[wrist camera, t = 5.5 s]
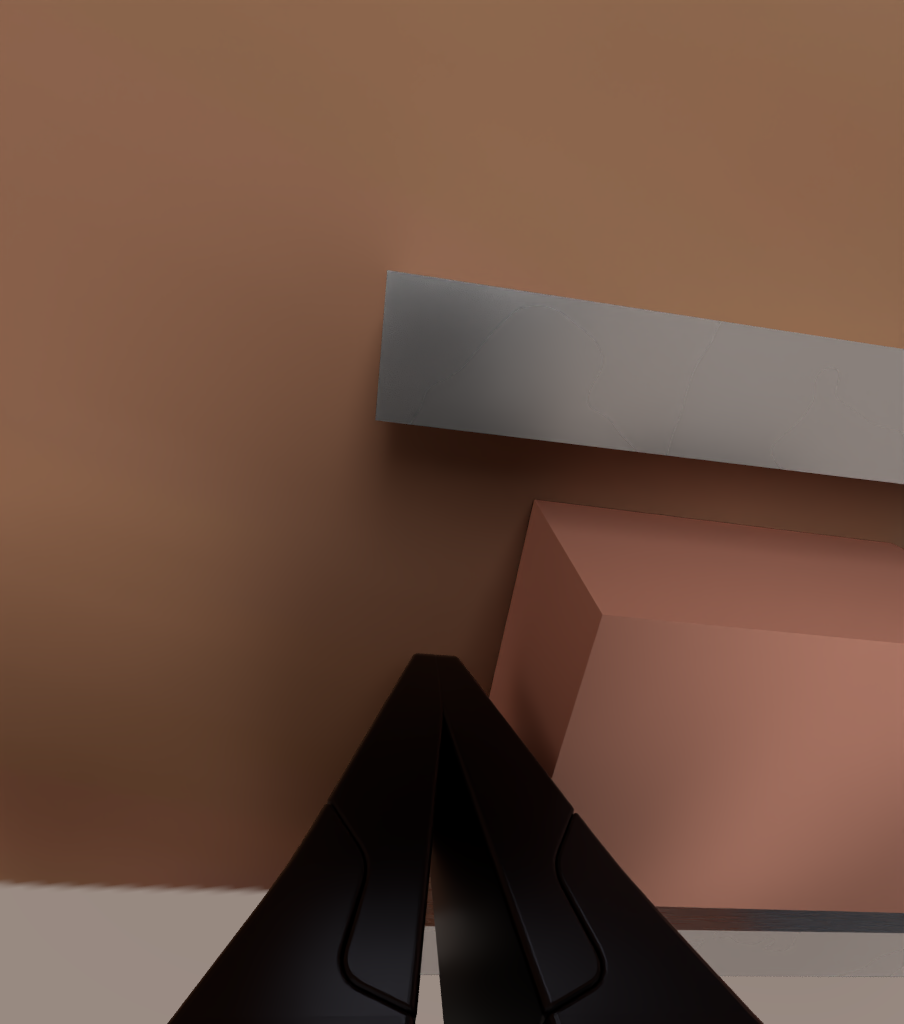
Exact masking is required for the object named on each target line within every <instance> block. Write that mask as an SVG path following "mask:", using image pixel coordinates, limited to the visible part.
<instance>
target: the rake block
mask: <svg viewBox="0 0 904 1024" xmlns="http://www.w3.org/2000/svg"><path fill="white" fill-rule="evenodd" d="M489 699H490V700H491V701H492V702H493V704H494V705H495V706H496V708H497V709H498V710H499V712H500V713H501V714H502V715H503V717H504V718H505V719H506V721H507V722H508V723H509V725H510V726H511V727H512V728H513V730H514V731H515V732H516V734H517V735H518V736H519V738H520V739H521V740H522V741H523V743H524V744H525V745H526V747H527V748H528V749H529V751H530V752H531V753H532V754H533V756H534V757H535V758H536V760H537V761H538V762H539V764H540V765H541V766H542V767H543V769H544V770H545V771H546V773H547V774H548V775H549V777H550V778H551V779H552V780H553V782H554V783H555V784H556V786H557V787H558V788H559V790H560V791H561V792H562V793H563V795H564V796H565V797H566V799H567V800H568V801H569V803H570V804H571V805H572V806H573V808H574V813H578V814H579V815H580V817H581V818H582V819H583V820H584V822H585V823H586V824H587V826H588V827H589V828H590V829H591V831H592V832H593V833H594V835H595V836H596V837H597V838H598V840H599V841H600V842H601V843H602V845H603V846H604V847H605V848H606V850H607V851H608V852H609V853H610V854H611V856H612V857H613V858H614V859H615V861H616V862H617V863H618V864H619V866H620V867H621V868H622V869H623V871H624V872H625V873H626V874H627V875H628V876H629V877H630V878H631V880H632V881H633V882H634V883H635V884H636V885H637V886H638V887H639V889H640V890H641V891H642V892H643V893H644V894H645V895H646V897H647V898H648V899H649V900H650V901H651V902H652V903H653V904H654V906H658V907H696V908H734V909H772V910H809V911H847V912H885V913H904V549H902V548H900V547H898V546H896V545H895V544H893V543H886V542H878V541H870V540H861V539H853V538H845V537H837V536H829V535H821V534H812V533H804V532H796V531H788V530H780V529H772V528H763V527H755V526H747V525H739V524H731V523H723V522H714V521H706V520H698V519H690V518H682V517H674V516H665V515H657V514H649V513H641V512H633V511H625V510H616V509H608V508H600V507H592V506H584V505H576V504H567V503H559V502H551V501H543V500H535V499H534V503H533V507H532V512H531V516H530V520H529V525H528V529H527V533H526V538H525V542H524V547H523V551H522V555H521V560H520V564H519V568H518V573H517V577H516V582H515V586H514V590H513V595H512V599H511V604H510V608H509V612H508V617H507V621H506V625H505V630H504V634H503V639H502V643H501V647H500V652H499V656H498V660H497V665H496V669H495V674H494V678H493V682H492V687H491V691H490V696H489Z"/></svg>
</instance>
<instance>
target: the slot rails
mask: <svg viewBox="0 0 904 1024" xmlns="http://www.w3.org/2000/svg"><path fill="white" fill-rule="evenodd" d="M375 420H378V421H386V422H394V423H403V424H411V425H419V426H427V427H436V428H444V429H452V430H461V431H469V432H477V433H485V434H494V435H502V436H510V437H518V438H527V439H535V440H543V441H551V442H560V443H568V444H576V445H585V446H593V447H601V448H609V449H618V450H626V451H634V452H642V453H651V454H659V455H667V456H676V457H684V458H692V459H700V460H709V461H717V462H725V463H733V464H742V465H750V466H758V467H766V468H775V469H783V470H791V471H800V472H808V473H816V474H824V475H833V476H841V477H849V478H857V479H866V480H874V481H882V482H891V483H899V484H904V349H899V348H893V347H886V346H879V345H873V344H866V343H860V342H853V341H847V340H840V339H834V338H827V337H821V336H814V335H808V334H801V333H794V332H788V331H781V330H775V329H768V328H762V327H755V326H749V325H742V324H736V323H729V322H722V321H716V320H709V319H703V318H696V317H690V316H683V315H677V314H670V313H664V312H657V311H651V310H644V309H637V308H631V307H624V306H618V305H611V304H605V303H598V302H592V301H585V300H579V299H572V298H565V297H559V296H552V295H546V294H539V293H533V292H526V291H520V290H513V289H507V288H500V287H494V286H487V285H480V284H474V283H467V282H461V281H454V280H448V279H441V278H435V277H428V276H422V275H415V274H408V273H402V272H395V271H389V270H387V282H386V294H385V307H384V319H383V332H382V344H381V357H380V369H379V382H378V394H377V407H376V419H375ZM655 907H656V908H657V909H658V910H659V911H660V912H661V913H662V914H663V916H664V917H665V918H666V919H667V920H668V921H669V922H670V923H671V924H672V925H673V926H674V927H675V929H676V930H677V931H678V932H679V933H680V934H681V935H682V936H683V937H684V938H685V939H686V941H687V942H688V943H689V944H690V945H691V946H692V947H693V948H694V949H695V950H696V951H697V952H698V954H699V955H700V956H701V957H702V958H703V959H704V960H705V961H706V962H707V963H708V964H709V966H710V967H711V968H712V969H713V970H714V971H715V972H716V973H717V974H718V975H719V976H829V977H832V976H833V977H834V976H835V977H842V976H843V977H849V976H850V977H851V976H852V977H904V913H885V912H847V911H809V910H772V909H734V908H696V907H658V906H655ZM420 975H439V965H438V954H437V943H436V932H435V922H434V911H433V900H432V889H431V878H430V877H429V887H428V898H427V909H426V920H425V930H424V941H423V952H422V963H421V973H420Z"/></svg>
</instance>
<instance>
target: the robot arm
mask: <svg viewBox="0 0 904 1024" xmlns="http://www.w3.org/2000/svg"><path fill="white" fill-rule="evenodd" d="M429 877H430V878H431V889H432V900H433V911H434V922H435V932H436V943H437V954H438V965H439V976H440V986H441V997H442V1008H443V1019H444V1024H763V1023H762V1021H760V1019H759V1018H757V1016H756V1015H755V1014H754V1013H753V1012H752V1011H751V1010H750V1009H749V1008H748V1007H747V1006H746V1005H745V1004H744V1002H742V1000H741V999H740V998H739V997H738V996H737V995H736V994H735V993H734V992H733V991H732V989H731V988H730V987H729V986H728V985H727V984H726V983H725V982H724V981H723V980H722V979H721V977H720V976H719V975H718V974H717V973H716V972H715V971H714V970H713V969H712V968H711V967H710V966H709V964H708V963H707V962H706V961H705V960H704V959H703V958H702V957H701V956H700V955H699V954H698V952H697V951H696V950H695V949H694V948H693V947H692V946H691V945H690V944H689V943H688V942H687V941H686V939H685V938H684V937H683V936H682V935H681V934H680V933H679V932H678V931H677V930H676V929H675V927H674V926H673V925H672V924H671V923H670V922H669V921H668V920H667V919H666V918H665V917H664V916H663V914H662V913H661V912H660V911H659V910H658V909H657V908H656V907H655V906H654V904H653V903H652V902H651V901H650V900H649V899H648V898H647V897H646V895H645V894H644V893H643V892H642V891H641V890H640V889H639V887H638V886H637V885H636V884H635V883H634V882H633V881H632V880H631V878H630V877H629V876H628V875H627V874H626V873H625V872H624V871H623V869H622V868H621V867H620V866H619V864H618V863H617V862H616V861H615V859H614V858H613V857H612V856H611V854H610V853H609V852H608V851H607V850H606V848H605V847H604V846H603V845H602V843H601V842H600V841H599V840H598V838H597V837H596V836H595V835H594V833H593V832H592V831H591V829H590V828H589V827H588V826H587V824H586V823H585V822H584V820H583V819H582V818H581V817H580V815H579V814H578V813H574V808H573V806H572V805H571V804H570V803H569V801H568V800H567V799H566V797H565V796H564V795H563V793H562V792H561V791H560V790H559V788H558V787H557V786H556V784H555V783H554V782H553V780H552V779H551V778H550V777H549V775H548V774H547V773H546V771H545V770H544V769H543V767H542V766H541V765H540V764H539V762H538V761H537V760H536V758H535V757H534V756H533V754H532V753H531V752H530V751H529V749H528V748H527V747H526V745H525V744H524V743H523V741H522V740H521V739H520V738H519V736H518V735H517V734H516V732H515V731H514V730H513V728H512V727H511V726H510V725H509V723H508V722H507V721H506V719H505V718H504V717H503V715H502V714H501V713H500V712H499V710H498V709H497V708H496V706H495V705H494V704H493V702H492V701H491V700H490V699H489V697H488V696H487V695H486V693H485V692H484V691H483V689H482V688H481V687H480V686H479V684H478V683H477V682H476V680H475V679H474V678H473V676H472V675H471V674H470V673H469V671H468V670H467V669H466V667H465V666H464V665H463V663H462V662H461V661H460V660H459V658H457V657H456V656H447V655H433V654H420V653H416V654H414V655H413V656H412V658H411V660H410V661H409V663H408V665H407V666H406V668H405V670H404V671H403V673H402V675H401V677H400V678H399V680H398V682H397V683H396V685H395V687H394V688H393V690H392V692H391V694H390V695H389V697H388V699H387V700H386V702H385V704H384V705H383V707H382V709H381V710H380V712H379V714H378V716H377V717H376V719H375V721H374V722H373V724H372V726H371V727H370V729H369V731H368V733H367V734H366V736H365V738H364V739H363V741H362V743H361V744H360V746H359V748H358V749H357V751H356V753H355V755H354V756H353V758H352V760H351V761H350V763H349V765H348V766H347V768H346V770H345V772H344V773H343V775H342V777H341V778H340V780H339V782H338V783H337V785H336V787H335V788H334V790H333V792H332V794H331V795H330V797H329V799H328V802H327V804H325V805H324V807H323V808H322V810H321V812H320V813H319V815H318V817H317V818H316V820H315V822H314V823H313V825H312V827H311V828H310V830H309V832H308V833H307V835H306V836H305V838H304V839H303V841H302V843H301V844H300V846H299V847H298V849H297V850H296V852H295V854H294V855H293V857H292V858H291V860H290V861H289V863H288V864H287V866H286V867H285V869H284V870H283V871H282V873H281V874H280V876H279V877H278V878H277V880H276V881H275V882H274V884H273V885H272V887H271V888H270V889H269V891H268V892H267V894H266V895H265V896H264V898H263V899H262V901H261V902H260V903H259V905H258V906H257V907H256V909H255V910H254V911H253V912H252V914H251V915H250V916H249V918H248V919H247V920H246V922H245V923H244V924H243V926H242V927H241V928H240V930H239V931H238V932H237V933H236V935H235V936H234V937H233V939H232V940H231V941H230V943H229V944H228V945H227V946H226V948H225V949H224V951H223V952H222V953H221V954H220V956H219V957H218V958H217V960H216V961H215V962H214V964H213V965H212V966H211V968H210V969H209V970H208V971H207V973H206V974H205V976H204V977H203V978H202V979H201V981H200V982H199V983H198V984H197V986H196V987H195V988H194V990H193V991H192V992H191V994H190V995H189V996H188V998H187V999H186V1000H185V1001H184V1003H183V1004H182V1005H181V1007H180V1008H179V1009H178V1011H177V1012H176V1013H175V1014H174V1016H173V1017H172V1018H171V1020H170V1021H169V1022H168V1023H167V1024H415V1020H416V1015H417V1005H418V995H419V994H418V993H419V984H420V973H421V963H422V952H423V941H424V930H425V920H426V909H427V898H428V887H429Z"/></svg>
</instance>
